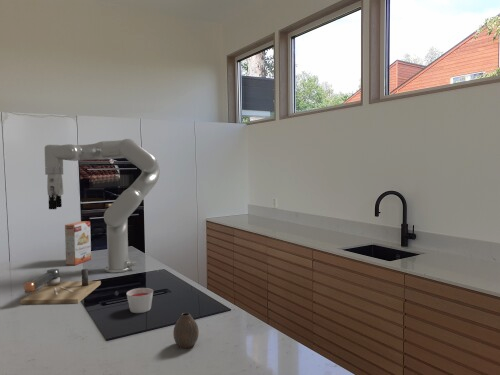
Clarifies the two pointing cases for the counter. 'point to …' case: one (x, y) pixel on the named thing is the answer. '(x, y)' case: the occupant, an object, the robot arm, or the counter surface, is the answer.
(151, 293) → the candle
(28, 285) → the lever
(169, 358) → the counter surface
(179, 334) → the vase
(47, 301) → the base
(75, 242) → the cracker box
